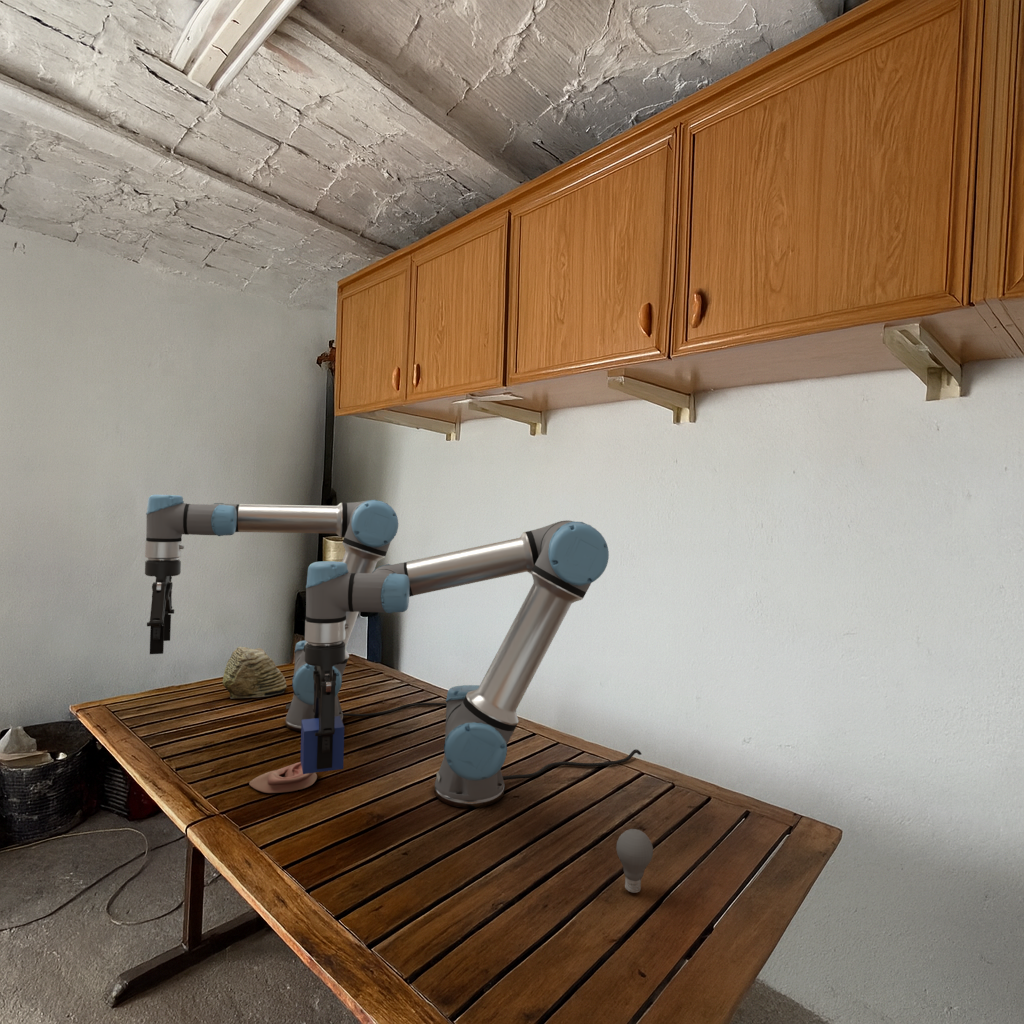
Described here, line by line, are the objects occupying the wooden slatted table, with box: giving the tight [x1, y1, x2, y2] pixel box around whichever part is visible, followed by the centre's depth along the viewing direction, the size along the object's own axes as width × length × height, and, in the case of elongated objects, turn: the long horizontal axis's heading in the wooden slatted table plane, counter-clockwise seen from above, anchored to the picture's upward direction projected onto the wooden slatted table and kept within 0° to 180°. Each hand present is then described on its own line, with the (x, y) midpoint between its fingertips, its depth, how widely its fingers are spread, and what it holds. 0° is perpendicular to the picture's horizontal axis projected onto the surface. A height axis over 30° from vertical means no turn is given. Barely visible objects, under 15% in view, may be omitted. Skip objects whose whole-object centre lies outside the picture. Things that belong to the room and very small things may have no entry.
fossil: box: [222, 646, 288, 699], centre depth 198 cm, size 9×18×15 cm, turn 132°
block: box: [300, 716, 345, 774], centre depth 123 cm, size 7×7×8 cm
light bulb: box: [615, 828, 654, 894], centre depth 106 cm, size 6×6×10 cm
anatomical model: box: [248, 761, 318, 794], centre depth 139 cm, size 13×4×12 cm
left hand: (160, 647), depth 152 cm, fingers open, 13 cm apart
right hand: (322, 759), depth 123 cm, fingers closed on block, 7 cm apart
